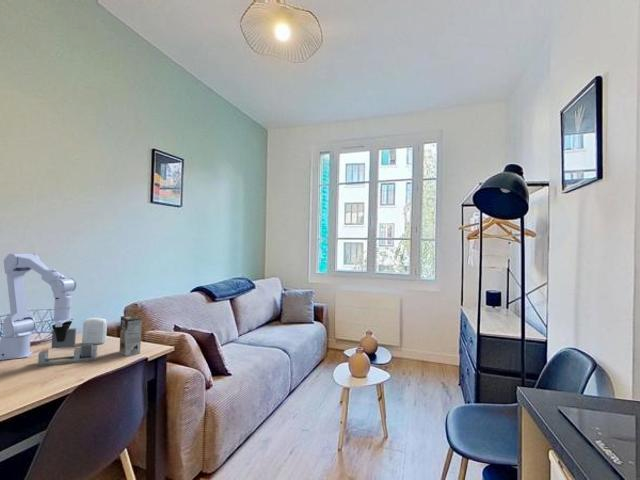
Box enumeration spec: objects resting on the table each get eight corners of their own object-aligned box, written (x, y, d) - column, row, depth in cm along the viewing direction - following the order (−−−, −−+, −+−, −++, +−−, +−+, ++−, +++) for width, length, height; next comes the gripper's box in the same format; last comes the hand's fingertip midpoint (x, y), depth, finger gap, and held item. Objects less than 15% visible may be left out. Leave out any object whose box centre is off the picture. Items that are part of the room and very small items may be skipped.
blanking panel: (51, 348, 135) (52, 331, 135) (52, 346, 137) (53, 329, 137) (74, 346, 138) (75, 329, 138) (75, 344, 140) (76, 328, 141)
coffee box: (118, 351, 152) (120, 316, 153) (134, 348, 157) (135, 314, 157) (124, 356, 146) (126, 319, 146) (140, 353, 151) (142, 317, 151)
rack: (37, 366, 132) (38, 351, 132) (41, 361, 136) (42, 347, 137) (95, 360, 140) (95, 345, 141) (96, 356, 145) (97, 342, 145)
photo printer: (107, 341, 166) (108, 317, 166) (103, 344, 162) (104, 318, 162) (85, 341, 165) (86, 317, 165) (80, 344, 161) (81, 318, 161)
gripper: (71, 310, 133) (70, 344, 133) (78, 304, 146) (76, 335, 146) (49, 311, 130) (47, 346, 130) (57, 305, 143) (56, 336, 142)
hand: (61, 340), depth 137 cm, fingers closed on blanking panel, 2 cm apart
